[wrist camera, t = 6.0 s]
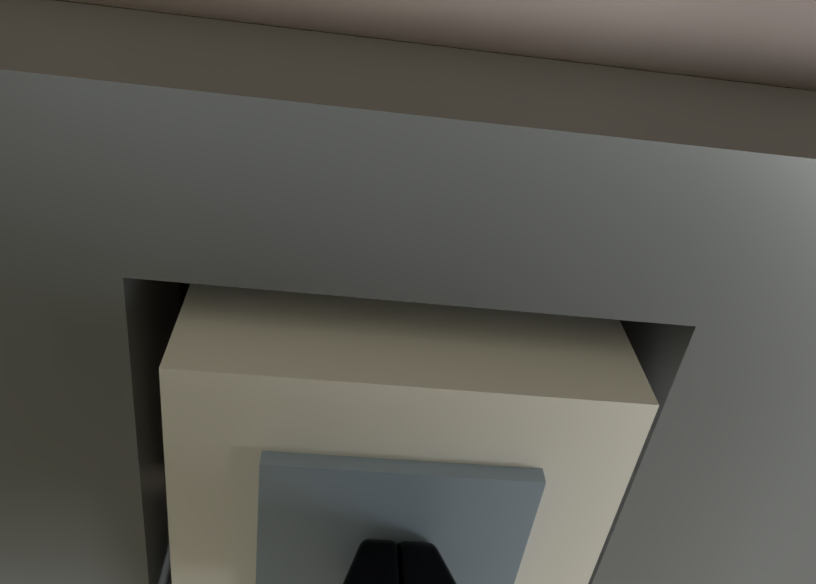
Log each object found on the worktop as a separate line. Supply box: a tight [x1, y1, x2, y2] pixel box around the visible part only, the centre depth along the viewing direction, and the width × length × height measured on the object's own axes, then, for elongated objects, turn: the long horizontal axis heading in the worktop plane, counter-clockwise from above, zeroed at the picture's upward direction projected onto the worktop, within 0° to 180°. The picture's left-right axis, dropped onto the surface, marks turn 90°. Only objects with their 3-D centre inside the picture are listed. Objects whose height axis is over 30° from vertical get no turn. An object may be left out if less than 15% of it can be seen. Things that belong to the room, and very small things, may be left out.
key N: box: [159, 283, 659, 584], centre depth 10 cm, size 5×5×2 cm
